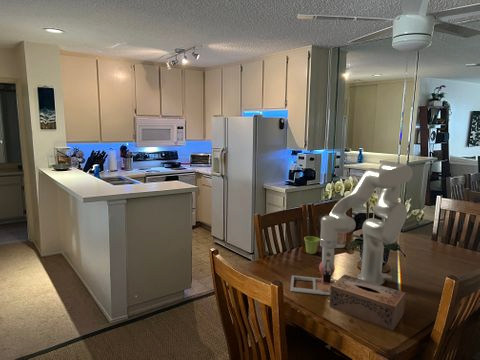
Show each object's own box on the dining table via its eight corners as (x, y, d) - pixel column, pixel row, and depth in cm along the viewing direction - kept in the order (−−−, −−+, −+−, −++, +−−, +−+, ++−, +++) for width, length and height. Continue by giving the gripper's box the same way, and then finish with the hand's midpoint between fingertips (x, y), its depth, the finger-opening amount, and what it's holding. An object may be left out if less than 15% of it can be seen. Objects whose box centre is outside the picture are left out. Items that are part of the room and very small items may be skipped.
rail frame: (336, 282, 168) (336, 279, 168) (339, 296, 155) (339, 293, 154) (291, 278, 172) (291, 275, 172) (290, 291, 159) (290, 288, 159)
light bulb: (331, 289, 157) (332, 265, 156) (316, 285, 161) (317, 261, 159) (335, 283, 163) (337, 260, 162) (321, 280, 167) (322, 256, 165)
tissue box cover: (403, 315, 141) (405, 292, 139) (392, 331, 130) (395, 306, 128) (343, 295, 157) (344, 274, 155) (329, 307, 146) (330, 285, 144)
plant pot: (303, 249, 213) (303, 235, 212) (318, 250, 212) (319, 236, 211) (303, 254, 204) (304, 240, 203) (319, 255, 203) (320, 241, 202)
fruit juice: (327, 243, 224) (330, 202, 220) (340, 242, 226) (343, 201, 222) (334, 248, 215) (337, 205, 211) (348, 247, 217) (351, 204, 213)
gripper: (338, 249, 150) (335, 287, 153) (335, 237, 167) (333, 271, 170) (320, 248, 151) (318, 286, 154) (319, 236, 168) (317, 270, 171)
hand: (326, 278), depth 162 cm, fingers closed on light bulb, 6 cm apart
